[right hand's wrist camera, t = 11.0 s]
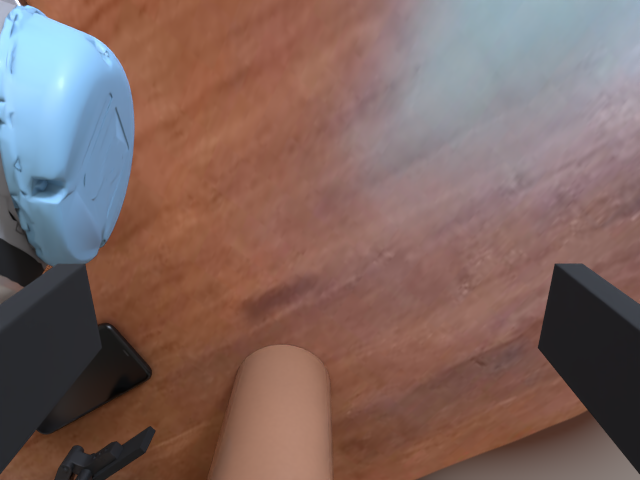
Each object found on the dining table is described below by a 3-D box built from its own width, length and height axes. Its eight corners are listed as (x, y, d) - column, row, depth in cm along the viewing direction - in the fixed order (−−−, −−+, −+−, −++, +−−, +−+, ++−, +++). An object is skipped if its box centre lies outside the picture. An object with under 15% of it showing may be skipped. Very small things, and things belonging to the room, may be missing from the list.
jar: (240, 423, 50) (197, 610, 32) (230, 345, 46) (175, 508, 29) (332, 421, 50) (338, 607, 32) (329, 342, 46) (334, 504, 29)
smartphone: (48, 432, 50) (157, 372, 47) (43, 438, 49) (154, 377, 46) (-3, 384, 48) (108, 317, 45) (-9, 389, 47) (104, 321, 44)
